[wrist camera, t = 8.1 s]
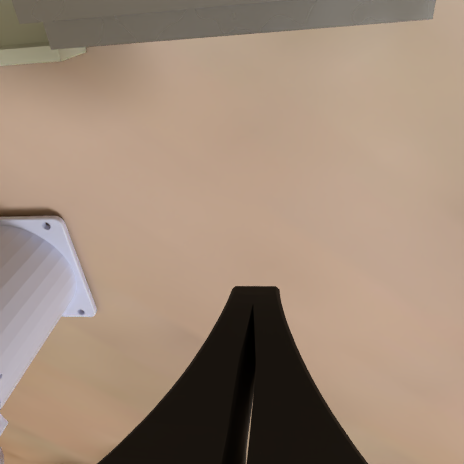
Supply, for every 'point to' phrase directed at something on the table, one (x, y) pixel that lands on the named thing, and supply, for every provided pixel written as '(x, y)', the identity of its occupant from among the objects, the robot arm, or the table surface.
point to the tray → (27, 41)
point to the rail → (202, 18)
